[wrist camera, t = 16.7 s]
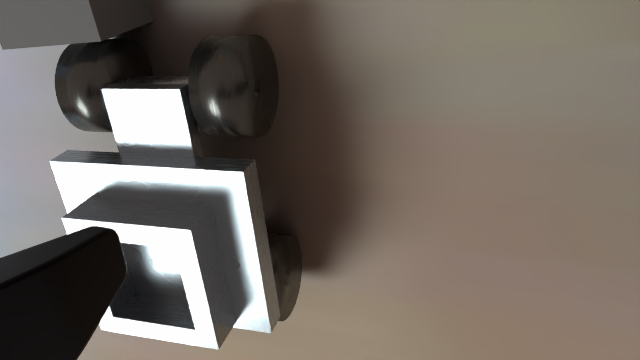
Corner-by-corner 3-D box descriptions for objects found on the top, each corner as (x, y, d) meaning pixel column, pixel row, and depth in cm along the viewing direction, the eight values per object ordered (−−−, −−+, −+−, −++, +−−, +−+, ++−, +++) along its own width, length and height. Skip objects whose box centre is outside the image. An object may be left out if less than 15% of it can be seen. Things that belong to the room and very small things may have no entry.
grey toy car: (278, 24, 20) (197, 74, 15) (311, 286, 26) (259, 389, 21) (99, 30, 23) (-24, 75, 18) (163, 268, 28) (84, 356, 23)
